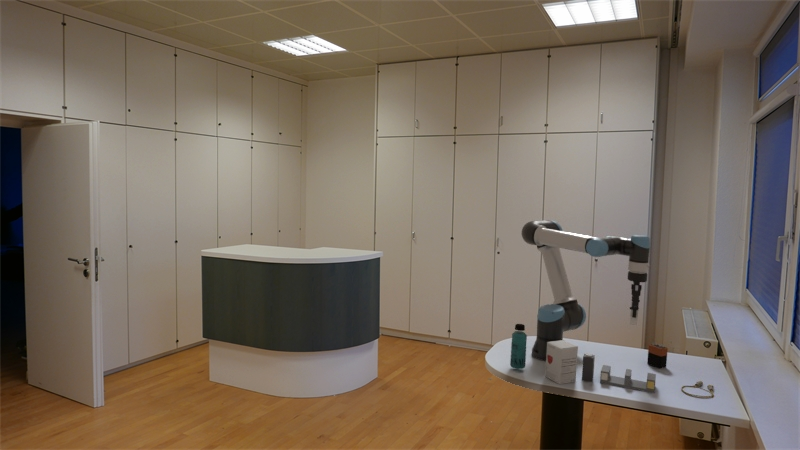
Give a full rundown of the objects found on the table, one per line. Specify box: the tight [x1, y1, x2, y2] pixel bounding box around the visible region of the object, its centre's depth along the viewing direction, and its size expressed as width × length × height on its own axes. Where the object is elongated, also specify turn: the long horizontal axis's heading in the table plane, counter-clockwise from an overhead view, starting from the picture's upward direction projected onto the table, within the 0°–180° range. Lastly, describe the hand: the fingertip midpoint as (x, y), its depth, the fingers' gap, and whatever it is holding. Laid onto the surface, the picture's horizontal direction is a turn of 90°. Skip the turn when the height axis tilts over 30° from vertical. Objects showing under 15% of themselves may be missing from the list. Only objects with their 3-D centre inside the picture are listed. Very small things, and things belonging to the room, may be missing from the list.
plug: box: [581, 352, 596, 383], centre depth 217 cm, size 4×4×11 cm
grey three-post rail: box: [599, 364, 657, 394], centre depth 213 cm, size 20×8×5 cm, turn 63°
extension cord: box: [680, 380, 715, 399], centre depth 209 cm, size 12×16×2 cm
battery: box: [647, 342, 668, 369], centre depth 236 cm, size 4×7×10 cm, turn 27°
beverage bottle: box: [509, 323, 528, 370], centre depth 226 cm, size 6×7×20 cm
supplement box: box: [544, 339, 579, 385], centre depth 217 cm, size 9×9×15 cm
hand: (633, 320), depth 225 cm, fingers open, 13 cm apart
